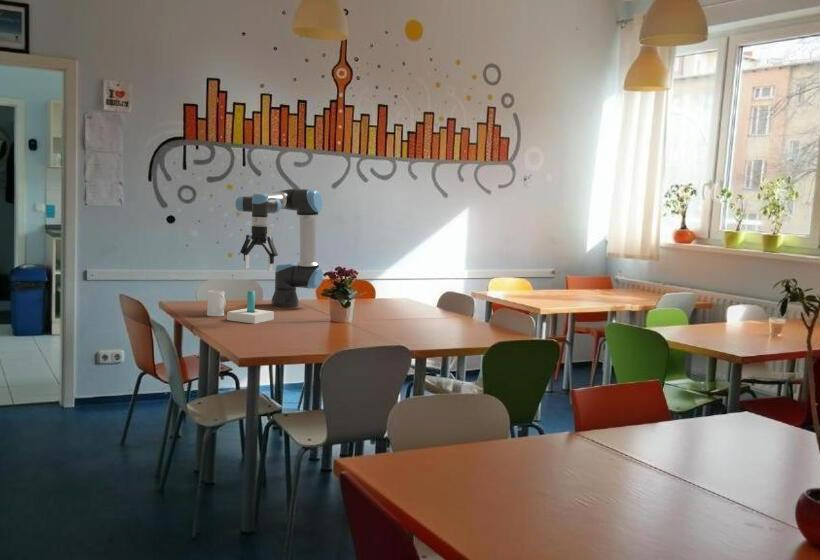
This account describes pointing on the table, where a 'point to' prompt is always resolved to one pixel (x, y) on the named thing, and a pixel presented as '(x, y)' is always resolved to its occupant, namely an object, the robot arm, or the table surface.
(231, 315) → the socket block
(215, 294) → the mug
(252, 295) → the peg
